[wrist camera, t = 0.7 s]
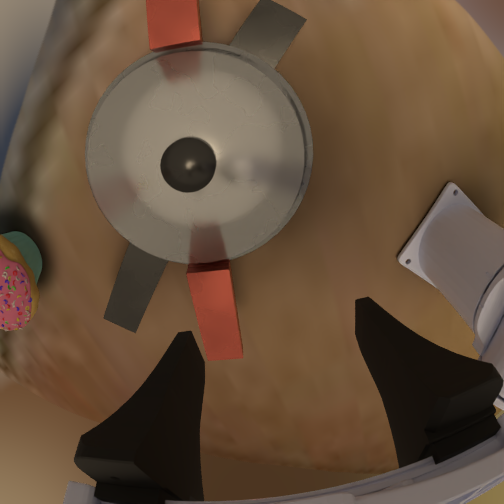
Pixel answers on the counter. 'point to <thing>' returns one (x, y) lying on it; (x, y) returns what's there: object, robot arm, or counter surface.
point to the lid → (196, 163)
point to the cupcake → (18, 280)
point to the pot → (265, 60)
